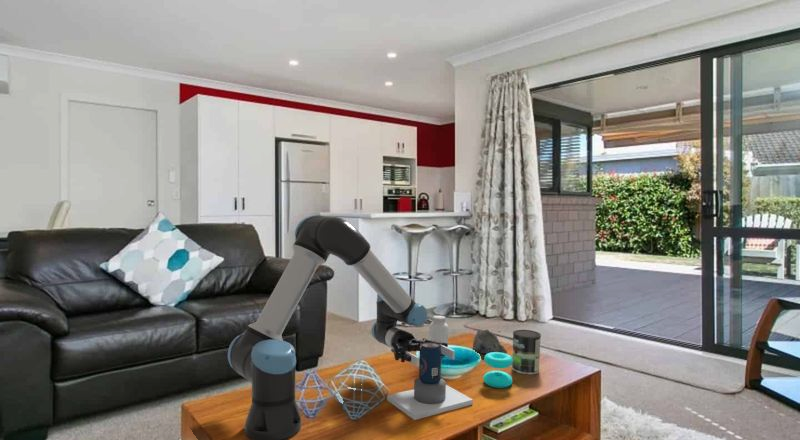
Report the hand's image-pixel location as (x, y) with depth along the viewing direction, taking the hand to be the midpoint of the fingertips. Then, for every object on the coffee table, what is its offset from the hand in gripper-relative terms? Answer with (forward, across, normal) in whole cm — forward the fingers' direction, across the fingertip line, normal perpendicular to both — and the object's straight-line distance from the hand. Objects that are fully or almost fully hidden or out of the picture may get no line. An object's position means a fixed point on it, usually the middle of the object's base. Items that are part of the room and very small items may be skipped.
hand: (436, 358), depth 150 cm
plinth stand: (-3, 0, -15) cm, 15 cm away
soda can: (-3, 0, -9) cm, 9 cm away
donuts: (-4, -30, -15) cm, 34 cm away
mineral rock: (-30, -49, -15) cm, 60 cm away
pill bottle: (-42, -32, -15) cm, 55 cm away
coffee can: (-9, -49, -15) cm, 52 cm away
